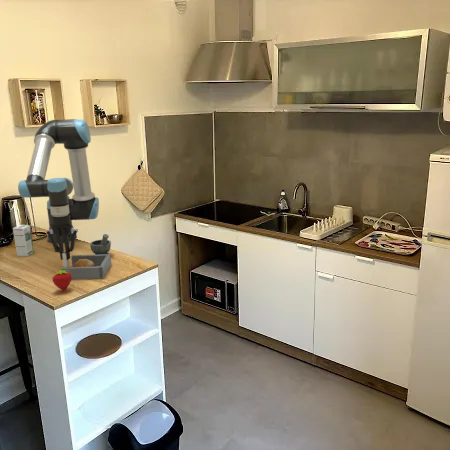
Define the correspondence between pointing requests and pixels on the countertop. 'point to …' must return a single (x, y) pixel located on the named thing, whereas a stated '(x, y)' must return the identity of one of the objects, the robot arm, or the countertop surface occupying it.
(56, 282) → the strawberry
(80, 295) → the countertop surface
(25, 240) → the syrup box
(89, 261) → the bread roll
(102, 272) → the box
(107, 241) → the mortar and pestle
